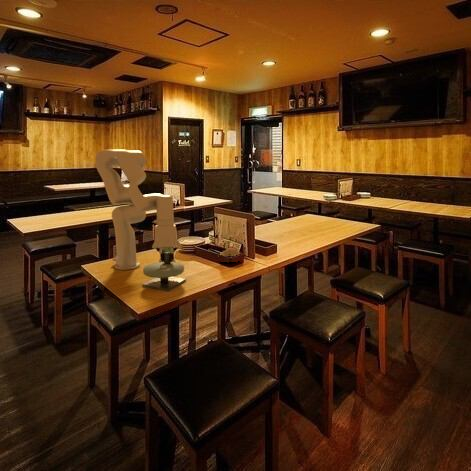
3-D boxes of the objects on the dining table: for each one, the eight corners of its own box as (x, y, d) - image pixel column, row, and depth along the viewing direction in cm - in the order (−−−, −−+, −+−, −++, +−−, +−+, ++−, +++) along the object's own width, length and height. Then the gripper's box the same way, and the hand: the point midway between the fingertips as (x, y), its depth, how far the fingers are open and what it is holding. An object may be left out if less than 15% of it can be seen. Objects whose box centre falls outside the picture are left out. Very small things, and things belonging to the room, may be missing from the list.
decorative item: (237, 250, 206) (242, 247, 197) (237, 265, 204) (242, 263, 195) (216, 249, 203) (221, 245, 193) (216, 264, 201) (220, 262, 192)
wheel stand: (142, 286, 163) (141, 274, 161) (160, 276, 175) (160, 265, 174) (168, 291, 157) (168, 278, 156) (185, 280, 170) (185, 269, 168)
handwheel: (179, 278, 156) (179, 263, 154) (137, 277, 157) (137, 262, 155) (187, 265, 173) (187, 252, 172) (150, 264, 174) (149, 251, 173)
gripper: (145, 224, 163) (148, 263, 167) (182, 223, 163) (184, 263, 168) (148, 221, 170) (150, 259, 174) (184, 220, 171) (185, 258, 175)
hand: (167, 260), depth 171 cm, fingers closed on handwheel, 3 cm apart
